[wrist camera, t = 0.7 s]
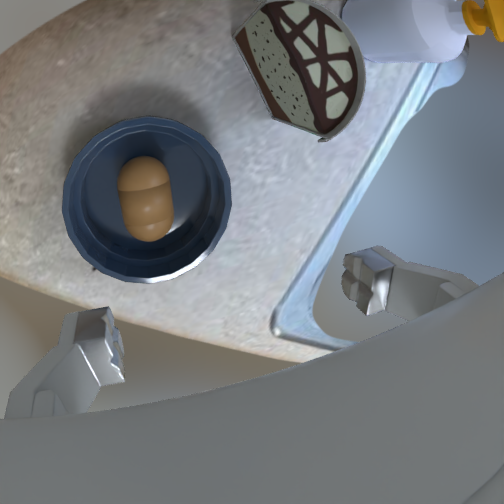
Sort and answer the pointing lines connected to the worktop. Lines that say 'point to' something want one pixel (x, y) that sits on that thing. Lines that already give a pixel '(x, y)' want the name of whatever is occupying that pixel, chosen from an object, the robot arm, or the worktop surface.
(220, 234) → the bowl
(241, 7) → the worktop surface
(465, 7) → the soap bottle
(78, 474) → the robot arm
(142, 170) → the potato
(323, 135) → the cake slice
